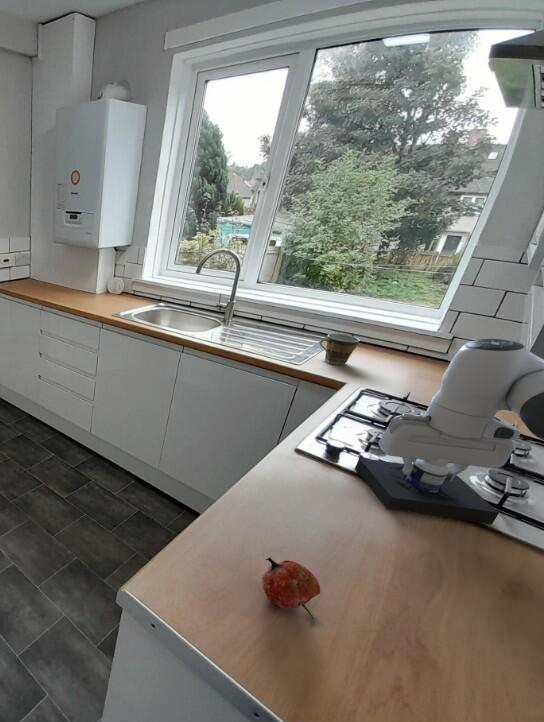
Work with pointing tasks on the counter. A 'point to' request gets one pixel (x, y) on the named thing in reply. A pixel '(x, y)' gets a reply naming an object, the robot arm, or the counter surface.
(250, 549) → the counter surface
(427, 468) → the pill bottle
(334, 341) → the ceramic cup
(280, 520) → the counter surface
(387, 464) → the black pad
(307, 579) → the pomegranate
